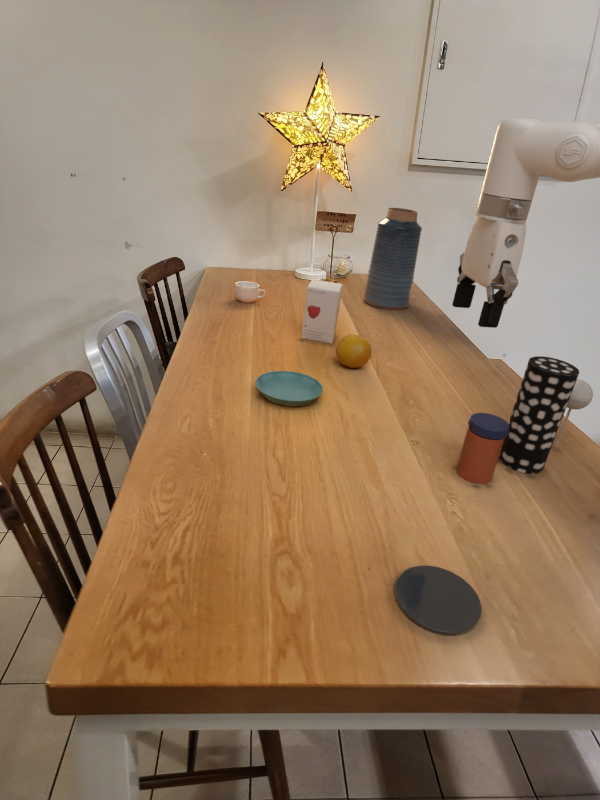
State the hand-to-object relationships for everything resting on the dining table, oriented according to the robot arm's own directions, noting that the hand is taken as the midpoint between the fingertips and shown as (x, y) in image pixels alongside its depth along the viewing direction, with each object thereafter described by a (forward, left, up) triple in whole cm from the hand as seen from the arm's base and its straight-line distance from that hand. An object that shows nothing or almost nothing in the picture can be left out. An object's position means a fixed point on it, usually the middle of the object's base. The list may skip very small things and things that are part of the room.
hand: (473, 316), depth 90 cm
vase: (+8, -99, -28) cm, 103 cm away
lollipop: (-25, -10, -28) cm, 39 cm away
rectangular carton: (+28, -55, -28) cm, 68 cm away
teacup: (+53, -79, -28) cm, 99 cm away
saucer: (+31, -15, -28) cm, 44 cm away
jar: (-6, +5, -27) cm, 28 cm away
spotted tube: (-16, -2, -28) cm, 32 cm away
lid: (-6, +5, -17) cm, 19 cm away
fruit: (+18, -37, -28) cm, 50 cm away
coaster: (+4, +37, -27) cm, 46 cm away
